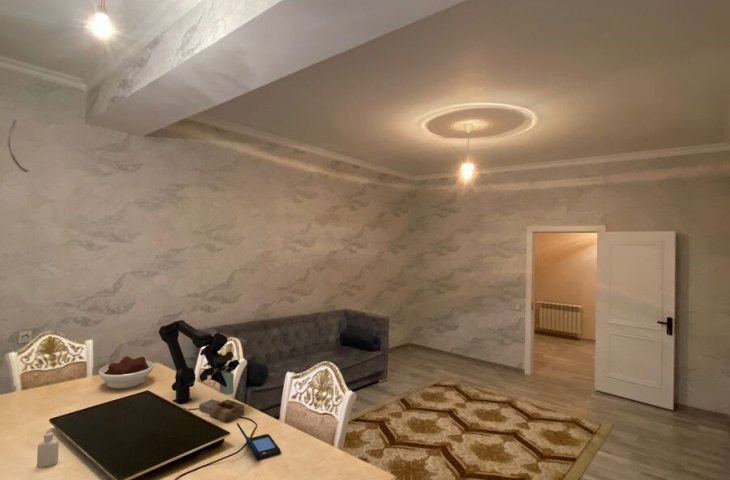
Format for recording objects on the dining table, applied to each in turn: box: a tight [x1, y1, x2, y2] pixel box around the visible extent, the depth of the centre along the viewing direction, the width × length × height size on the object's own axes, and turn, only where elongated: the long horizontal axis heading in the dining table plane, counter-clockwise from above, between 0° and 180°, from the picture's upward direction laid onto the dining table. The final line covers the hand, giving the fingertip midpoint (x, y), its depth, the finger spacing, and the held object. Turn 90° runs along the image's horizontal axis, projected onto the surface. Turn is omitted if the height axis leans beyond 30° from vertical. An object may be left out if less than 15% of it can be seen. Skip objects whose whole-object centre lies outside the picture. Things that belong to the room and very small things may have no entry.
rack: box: [208, 399, 245, 424], centre depth 174 cm, size 11×10×4 cm
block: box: [219, 371, 235, 396], centre depth 175 cm, size 6×2×9 cm, turn 60°
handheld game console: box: [236, 422, 282, 461], centre depth 148 cm, size 16×13×9 cm
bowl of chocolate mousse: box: [98, 355, 155, 389], centre depth 206 cm, size 25×25×15 cm
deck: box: [198, 399, 221, 415], centre depth 179 cm, size 8×7×3 cm
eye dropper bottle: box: [36, 428, 60, 467], centre depth 134 cm, size 4×6×12 cm
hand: (228, 385), depth 174 cm, fingers closed on block, 2 cm apart
